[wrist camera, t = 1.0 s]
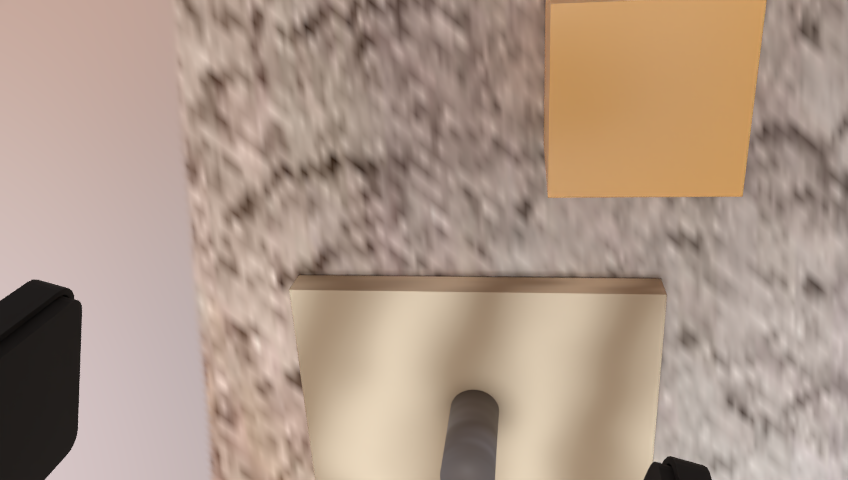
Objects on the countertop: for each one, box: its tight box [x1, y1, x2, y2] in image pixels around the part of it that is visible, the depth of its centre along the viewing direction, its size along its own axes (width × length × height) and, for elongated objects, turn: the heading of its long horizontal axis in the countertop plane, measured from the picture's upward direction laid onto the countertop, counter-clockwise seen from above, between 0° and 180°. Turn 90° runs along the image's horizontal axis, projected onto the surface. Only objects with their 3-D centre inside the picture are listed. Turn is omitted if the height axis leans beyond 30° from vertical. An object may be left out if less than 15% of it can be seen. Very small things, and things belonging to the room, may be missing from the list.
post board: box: [289, 275, 667, 480], centre depth 32 cm, size 16×12×6 cm
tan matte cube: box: [544, 0, 767, 198], centre depth 25 cm, size 6×6×6 cm
